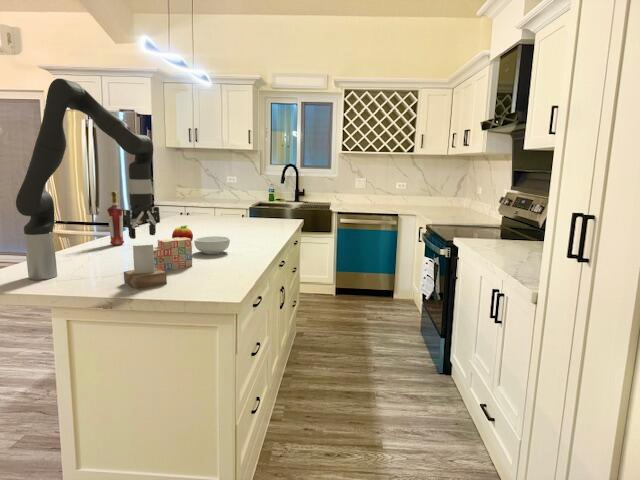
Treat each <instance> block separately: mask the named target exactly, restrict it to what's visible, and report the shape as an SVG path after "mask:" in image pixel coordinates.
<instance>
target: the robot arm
mask: <svg viewBox="0 0 640 480" xmlns="http://www.w3.org/2000/svg"><path fill="white" fill-rule="evenodd" d="M67 109H72V110H76V111H79V112H81V113H83V114H85V115H86V116H88V117H89V118H90V119H91V120H92V121H93V123H94V124H95V125H96V126H97V128H99V129H100V131H102V132H104V134H106V135H107V136H108V137H110V138H111V139H112V140H114V141H115V142H116V144H118V146H119V147H120V148H121V149H122V150H123V151H124V152H126V153H128V154H130V155H133V156H134V160H133V162H130V163H129V165H128V178H129V180H128V181H129V182H128V196H129V205H130V209H123V228H128V229H127V230H128V237H129V239H133V240H135V239H136V237H137V236H136V225H137V224H139V222H140V221H147V223H148V224H149V225H148V228H149V229H148V232H149V235H150V236H155V235H156V233H157V232H156V227H157V226H156V225H157V224H159V223H160V222H161V216H160V207H159V206H152V205H153V186H152V180H151V165H152V162H153V161H152V160H153V156H154V144H153V141H152V139H151V138H150V137H149V136H148V135H146V134H136V133H134V132H132V131H131V127H130V126H129V125H128V124H127V123H126V122H125V121H124V120H122V119H121V118H119V117H117V115H115V114H113V113H112V112H111V111H110V110H108V109H106V107H104V106H103V105H102V104H101V103H99V102H98V101H97V100H96V99H95V97H93V96H92V95H91V94H90V92H89V91H87V90H86V89H85V87H83V86H82V85H81V84H80V83H77V82H74V81H71V80H67V79H65V78H56V79H54V80H52V81H51V83H50V84H49V87H48V89H47V93H46V99H45V105H44V112H43V116H42V121H41V124H40V127H39V131H38V135H37V138H36V140H35V145H34V148H33V151H32V155H31V159H30V161H29V165H28V168H27V171H26V174H25V177H24V179H23V182H22V183H21V186H20V188H19V191H18V192H17V196H16V199H15V206H16V210H17V212H18V213H19V214H20V215H22V216H24V217H30V219H29V221H28V222H27V223H26V224H24V226H23V234H24V235H23V236H24V242H25V251H26V253H25V257H26V259H25V260H26V266H27V267H26V268H27V276H28V279H29V280H33V281H34V280H35V281H37V280H38V281H39V280H48V279H52V278H55V277H58V270H57V269H58V267H57V258H56V247H55V239H54V226H55V223H56V222H55V220H56V219H55V203H54V199H53V196H52V195H51V194H50V192H49V191H47V190H44V189H45V187H46V184H47V183H48V181H49V179H50V178H51V177H52V176H53V174H54V173H55V172H56V171H57V169H58V168H59V167H60V166H61V163H62V161H63V159H64V155H65V151H66V149H67V138H66V134H65V130H64V129H65V128H64V118H65V115H66V111H67Z"/></svg>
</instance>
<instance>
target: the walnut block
mask: <svg viewBox="0 0 640 480" xmlns="http://www.w3.org/2000/svg"><path fill="white" fill-rule="evenodd" d="M154 269H155V272H154V273H140V274H134V269H132V270H126V271H123V283H124V284H125V285H127V286H129V287H130V288H131V289H135V290H136V291H140V290H144V289H149V288H154V287H159V286H164V285H168V281H167V278H168V277H167V271H162V270H159V269H157V268H154Z"/></svg>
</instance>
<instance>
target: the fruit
mask: <svg viewBox="0 0 640 480" xmlns="http://www.w3.org/2000/svg"><path fill="white" fill-rule="evenodd" d="M182 237H186V238H189V239H191V242H192V241H193V240H194V234H193V231H192V230H191V229H190V228H189V226H188V225H182V226H181V225H180V227H175V228H174V230H173V231H172V234H171V238H182Z"/></svg>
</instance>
